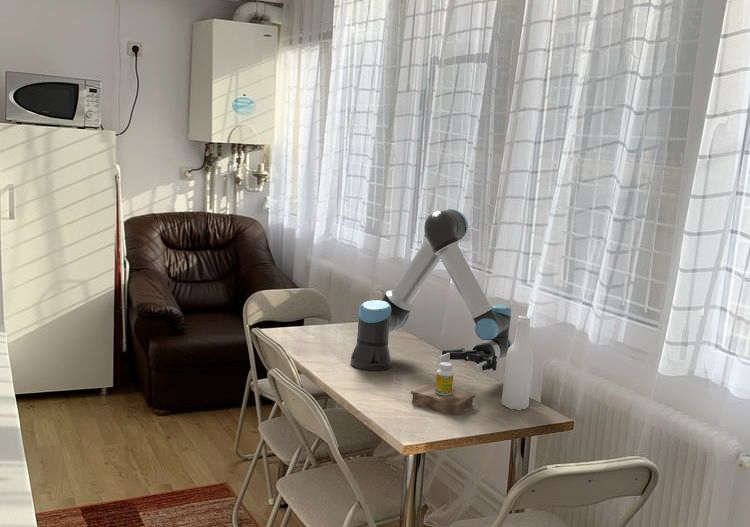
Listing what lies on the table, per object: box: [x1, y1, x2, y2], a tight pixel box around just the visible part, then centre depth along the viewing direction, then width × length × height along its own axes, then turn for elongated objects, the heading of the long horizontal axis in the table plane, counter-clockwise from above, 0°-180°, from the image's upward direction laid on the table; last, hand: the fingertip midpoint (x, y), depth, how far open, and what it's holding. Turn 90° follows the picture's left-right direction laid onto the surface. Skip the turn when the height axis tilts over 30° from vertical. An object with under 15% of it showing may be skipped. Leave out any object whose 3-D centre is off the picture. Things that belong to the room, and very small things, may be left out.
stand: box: [410, 382, 476, 416], centre depth 252 cm, size 17×12×4 cm
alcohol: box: [501, 315, 535, 410], centre depth 255 cm, size 9×9×30 cm
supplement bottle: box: [435, 361, 455, 395], centre depth 251 cm, size 5×5×10 cm
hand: (458, 364), depth 259 cm, fingers open, 13 cm apart
